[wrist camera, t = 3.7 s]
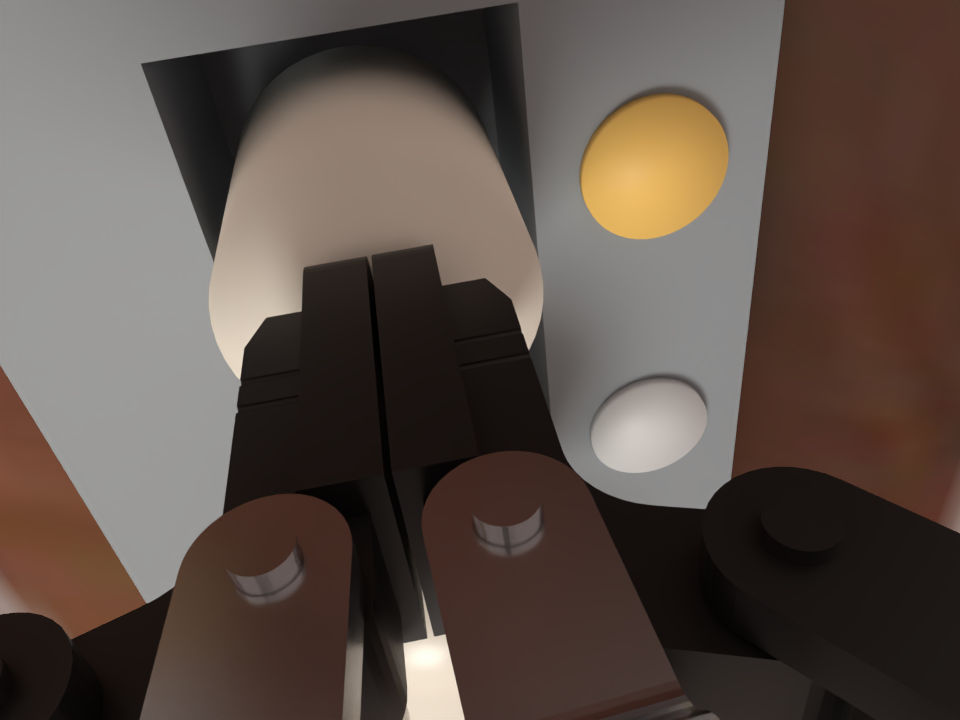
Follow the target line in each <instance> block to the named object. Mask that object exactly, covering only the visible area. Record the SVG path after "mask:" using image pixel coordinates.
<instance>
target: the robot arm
mask: <svg viewBox="0 0 960 720" xmlns="http://www.w3.org/2000/svg"><path fill="white" fill-rule="evenodd" d="M372 269H373V276H372V272H371V268H370V265H369V261H368V258H367V256H364V257H359V258H353V259H347V260H342V261H336V262H330V263H325V264H319V265H313V266H308V267H304V269H303V286H302V311H300V312H295V313H289V314H284V315H278V316H273V317H267V318H266V319H265V320H264V321H263V323H262V324H261V325H260V327H259V328H258V330H257V331H256V332H255V334H254V335H253V337H252V338H251V339H250V341H249V342H248V344H247V345H246V346H245V348H244V354H243V361H242V369H241V377H240V381H241V386H239V392H238V400H237V409H238V413H236V416H235V423H234V431H233V439H232V447H231V454H230V462H229V470H228V478H227V485H226V493H225V501H224V509H223V515H222V516H220V517H219V518H218V519H217V520H215V521H214V522H213V523H211V524H210V525H209V526H208V527H207V528H206V529H205V530H204V531H203V532H202V533H201V534H200V535H199V536H198V537H197V538H196V540H195V541H194V542H193V543H192V545H191V546H190V547H189V549H188V551H187V553H186V554H185V556H184V558H183V560H182V563H181V566H180V568H179V571H178V575H177V578H176V582H175V586H174V587H173V588H172V589H170V590H169V591H167V592H166V593H164V594H163V595H161V596H160V597H158V598H157V599H155V600H153V601H151V602H149V603H147V604H145V605H143V606H142V607H140V608H137V609H135V610H133V611H131V612H129V613H127V614H125V615H123V616H120V617H118V618H116V619H114V620H112V621H110V622H108V623H106V624H103V625H101V626H99V627H97V628H95V629H93V630H91V631H89V632H86V633H84V634H82V635H80V636H78V637H76V638H74V639H72V640H71V639H70V638H69V637H68V635H67V634H66V633H65V631H64V630H63V629H62V627H61V626H60V625H58V624H57V623H56V622H54V621H53V620H52V619H49V618H47V617H45V616H42V615H38V614H33V613H9V614H2V615H0V720H410V716H409V711H408V708H407V679H406V668H405V657H404V645H403V643H408V642H413V641H418V640H422V639H427V630H426V621H425V613H424V604H423V596H422V591H423V595H424V599H425V603H426V607H427V611H428V615H429V619H430V622H431V626H432V630H433V634H434V637H435V636H440V635H446V639H447V644H448V648H449V653H450V657H451V661H452V666H453V670H454V675H455V679H456V684H457V688H458V692H459V697H460V701H461V706H462V710H463V714H464V719H465V720H960V533H958V532H956V531H953V530H951V529H949V528H947V527H945V526H942V525H940V524H938V523H936V522H933V521H931V520H929V519H927V518H925V517H922V516H920V515H918V514H916V513H914V512H911V511H909V510H907V509H905V508H903V507H900V506H898V505H896V504H894V503H891V502H889V501H887V500H885V499H883V498H880V497H878V496H876V495H874V494H872V493H869V492H867V491H865V490H863V489H861V488H858V487H856V486H854V485H852V484H849V483H847V482H845V481H843V480H841V479H838V478H835V477H833V476H830V475H828V474H825V473H821V472H817V471H813V470H809V469H802V468H795V467H771V468H762V469H758V470H754V471H750V472H747V473H744V474H742V475H739V476H737V477H735V478H733V479H731V480H730V481H728V482H727V483H725V484H724V485H723V486H722V487H720V488H719V489H718V490H717V491H716V492H715V493H714V495H713V496H712V498H711V499H710V501H709V502H708V504H707V507H706V509H697V508H683V507H669V506H655V505H647V504H639V503H634V502H630V501H626V500H622V499H619V498H616V497H614V496H611V495H608V494H606V493H604V492H602V491H601V490H599V489H597V488H595V487H593V486H592V485H591V484H589V483H588V482H586V481H585V480H584V479H582V478H581V477H580V476H579V475H578V474H577V473H576V472H575V471H574V469H573V468H572V467H571V465H570V464H569V462H568V461H567V459H566V457H565V455H564V453H563V450H562V447H561V444H560V442H559V439H558V436H557V433H556V430H555V427H554V424H553V421H552V418H551V415H550V412H549V409H548V406H547V403H546V400H545V397H544V394H543V391H542V388H541V385H540V382H539V379H538V376H537V374H536V371H535V368H534V365H533V362H532V359H531V358H530V354H529V350H528V347H527V344H526V341H525V338H524V335H523V334H522V331H521V326H520V323H519V320H518V317H517V314H516V311H515V308H514V305H513V303H512V300H511V299H510V298H509V297H508V296H507V295H506V294H504V293H503V292H502V291H501V290H499V289H498V288H497V287H496V286H495V285H493V284H492V283H491V282H490V281H488V280H487V279H486V278H482V279H477V280H471V281H465V282H460V283H454V284H449V285H443V286H442V283H441V279H440V274H439V270H438V265H437V260H436V256H435V251H434V247H433V244H431V245H425V246H419V247H414V248H408V249H402V250H397V251H391V252H385V253H380V254H374V255H372ZM373 279H374V281H373Z"/></svg>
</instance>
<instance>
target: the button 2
mask: <svg viewBox="0 0 960 720" xmlns="http://www.w3.org/2000/svg"><path fill="white" fill-rule="evenodd" d="M431 244H433V247H434V251H435V256H436V260H437V265H438V270H439V274H440V279H441V283H442V286H443V285H449V284H454V283H460V282H465V281H471V280H477V279H482V278H486V279H487V280H488V281H490V282H491V283H492V284H493V285H495V286H496V287H497V288H498V289H499V290H501V291H502V292H503V293H504V294H506V295H507V296H508V297H509V298H510V299H511V300H512V303H513V305H514V308H515V311H516V314H517V317H518V320H519V323H520V326H521V331H522V334H523V335H524V338H525V341H526V344H527V347H528V350H529V349H530V347H531V345H532V342H533V340H534V338H535V336H536V333H537V329H538V326H539V323H540V320H541V314H542V307H543V278H542V272H541V266H540V263H539V259H538V256H537V253H536V250H535V247H534V245H533V242H532V240H531V238H530V235H529V233H528V230H527V228H526V226H525V223H524V221H523V218H522V216H521V214H520V211H519V209H518V207H517V204H516V202H515V199H514V197H513V195H512V192H511V190H510V187H509V185H508V183H507V180H506V178H505V175H504V173H503V171H502V168H501V166H500V164H499V161H498V159H497V156H496V154H495V152H494V149H493V147H492V144H491V142H490V140H489V137H488V135H487V132H486V130H485V128H484V125H483V123H482V121H481V119H480V117H479V115H478V113H477V111H476V109H475V107H474V106H473V104H472V103H471V101H470V100H469V98H468V97H467V95H466V94H465V93H464V92H463V91H462V90H461V89H460V87H459V86H458V85H457V84H456V83H455V82H454V81H453V80H452V79H450V78H449V77H448V76H447V75H446V74H444V73H443V72H442V71H441V70H439V69H437V68H436V67H434V66H433V65H431V64H430V63H428V62H426V61H424V60H422V59H420V58H418V57H416V56H413V55H411V54H408V53H405V52H402V51H399V50H395V49H391V48H385V47H379V46H363V45H356V46H345V47H338V48H334V49H329V50H325V51H322V52H319V53H316V54H314V55H311V56H309V57H306V58H304V59H302V60H300V61H299V62H297V63H295V64H293V65H291V66H290V67H288V68H287V69H286V70H285V71H283V72H282V73H281V74H279V75H278V76H277V77H276V78H275V79H274V80H273V81H272V82H271V83H270V84H269V85H268V86H267V87H266V88H265V89H264V90H263V91H262V93H261V94H260V95H259V97H258V98H257V99H256V101H255V102H254V104H253V106H252V108H251V110H250V111H249V113H248V115H247V117H246V120H245V123H244V126H243V128H242V131H241V135H240V140H239V145H238V149H237V154H236V159H235V164H234V169H233V173H232V178H231V183H230V188H229V192H228V197H227V202H226V207H225V212H224V216H223V221H222V226H221V231H220V236H219V240H218V245H217V250H216V255H215V260H214V264H213V269H212V275H211V280H210V285H209V313H210V320H211V326H212V329H213V332H214V336H215V339H216V342H217V345H218V347H219V349H220V351H221V353H222V355H223V357H224V359H225V361H226V362H227V364H228V365H229V367H230V368H231V370H232V371H233V372H234V374H235V375H236V376H237V378H238V379H239V380H240V377H241V369H242V361H243V354H244V348H245V346H246V345H247V344H248V342H249V341H250V339H251V338H252V337H253V335H254V334H255V332H256V331H257V330H258V328H259V327H260V325H261V324H262V323H263V321H264V320H265V319H266V318H267V317H273V316H278V315H284V314H289V313H295V312H300V311H302V286H303V269H304V267H308V266H313V265H319V264H325V263H330V262H336V261H342V260H347V259H353V258H359V257H364V256H367V258H368V261H369V265H370V268H371V272H372V276H373V269H372V255H374V254H380V253H385V252H391V251H397V250H402V249H408V248H414V247H419V246H425V245H431ZM373 281H374V279H373Z"/></svg>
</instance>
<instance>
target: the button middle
mask: <svg viewBox="0 0 960 720" xmlns="http://www.w3.org/2000/svg"><path fill="white" fill-rule="evenodd" d="M422 596H423V604H424V613H425V621H426V630H427V639H422V640H418V641H413V642H408V643H403V645H404V657H405V668H406V679H407V708H408V711H409V716H410V720H465V719H464V714H463V710H462V706H461V701H460V697H459V692H458V688H457V684H456V679H455V675H454V670H453V666H452V661H451V657H450V653H449V648H448V644H447V639H446V635H440V636H435V637H434V634H433V630H432V626H431V622H430V619H429V615H428V611H427V607H426V603H425V599H424V595H423V591H422Z"/></svg>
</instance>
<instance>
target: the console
mask: <svg viewBox="0 0 960 720" xmlns="http://www.w3.org/2000/svg"><path fill="white" fill-rule="evenodd" d="M784 4H785V0H0V365H1V367H2V368H3V370H4V372H5V373H6V375H7V377H8V378H9V380H10V382H11V383H12V385H13V386H14V388H15V390H16V391H17V393H18V395H19V396H20V398H21V399H22V401H23V403H24V404H25V406H26V408H27V409H28V411H29V413H30V414H31V416H32V417H33V419H34V421H35V422H36V424H37V426H38V427H39V429H40V430H41V432H42V434H43V435H44V437H45V439H46V440H47V442H48V443H49V445H50V447H51V448H52V450H53V452H54V453H55V455H56V457H57V458H58V460H59V461H60V463H61V465H62V466H63V468H64V470H65V471H66V473H67V474H68V476H69V478H70V479H71V481H72V483H73V484H74V486H75V488H76V489H77V491H78V492H79V494H80V496H81V497H82V499H83V501H84V502H85V504H86V505H87V507H88V509H89V510H90V512H91V514H92V515H93V517H94V519H95V520H96V522H97V523H98V525H99V527H100V528H101V530H102V532H103V533H104V535H105V536H106V538H107V540H108V541H109V543H110V545H111V546H112V548H113V549H114V551H115V553H116V554H117V556H118V558H119V559H120V561H121V563H122V564H123V566H124V567H125V569H126V571H127V572H128V574H129V576H130V577H131V579H132V580H133V582H134V584H135V585H136V587H137V589H138V590H139V592H140V594H141V595H142V597H143V598H144V600H145V602H146V603H149V602H151V601H153V600H155V599H157V598H158V597H160V596H161V595H163V594H164V593H166V592H167V591H169V590H170V589H172V588H173V587H174V586H175V582H176V578H177V575H178V571H179V568H180V566H181V563H182V560H183V558H184V556H185V554H186V553H187V551H188V549H189V547H190V546H191V545H192V543H193V542H194V541H195V540H196V538H197V537H198V536H199V535H200V534H201V533H202V532H203V531H204V530H205V529H206V528H207V527H208V526H209V525H210V524H211V523H213V522H214V521H215V520H217V519H218V518H219V517H220V516H222V515H223V509H224V501H225V493H226V485H227V478H228V470H229V462H230V454H231V447H232V439H233V431H234V423H235V416H236V413H238V409H237V400H238V392H239V386H241V381H240V380H239V379H238V378H237V376H236V375H235V374H234V372H233V371H232V370H231V368H230V367H229V365H228V364H227V362H226V361H225V359H224V357H223V355H222V353H221V351H220V349H219V347H218V345H217V342H216V339H215V336H214V332H213V329H212V326H211V320H210V313H209V285H210V280H211V275H212V269H213V264H214V260H215V255H216V250H217V245H218V240H219V236H220V231H221V226H222V221H223V216H224V212H225V207H226V202H227V197H228V192H229V188H230V183H231V178H232V173H233V169H234V164H235V159H236V154H237V149H238V145H239V140H240V135H241V131H242V128H243V126H244V123H245V120H246V117H247V115H248V113H249V111H250V110H251V108H252V106H253V104H254V102H255V101H256V99H257V98H258V97H259V95H260V94H261V93H262V91H263V90H264V89H265V88H266V87H267V86H268V85H269V84H270V83H271V82H272V81H273V80H274V79H275V78H276V77H277V76H278V75H279V74H281V73H282V72H283V71H285V70H286V69H287V68H288V67H290V66H291V65H293V64H295V63H297V62H299V61H300V60H302V59H304V58H306V57H309V56H311V55H314V54H316V53H319V52H322V51H325V50H329V49H334V48H338V47H345V46H356V45H363V46H379V47H385V48H391V49H395V50H399V51H402V52H405V53H408V54H411V55H413V56H416V57H418V58H420V59H422V60H424V61H426V62H428V63H430V64H431V65H433V66H434V67H436V68H437V69H439V70H441V71H442V72H443V73H444V74H446V75H447V76H448V77H449V78H450V79H452V80H453V81H454V82H455V83H456V84H457V85H458V86H459V87H460V89H461V90H462V91H463V92H464V93H465V94H466V95H467V97H468V98H469V100H470V101H471V103H472V104H473V106H474V107H475V109H476V111H477V113H478V115H479V117H480V119H481V121H482V123H483V125H484V128H485V130H486V132H487V135H488V137H489V140H490V142H491V144H492V147H493V149H494V152H495V154H496V156H497V159H498V161H499V164H500V166H501V168H502V171H503V173H504V175H505V178H506V180H507V183H508V185H509V187H510V190H511V192H512V195H513V197H514V199H515V202H516V204H517V207H518V209H519V211H520V214H521V216H522V218H523V221H524V223H525V226H526V228H527V230H528V233H529V235H530V238H531V240H532V242H533V245H534V247H535V250H536V253H537V256H538V259H539V263H540V266H541V272H542V278H543V307H542V314H541V320H540V323H539V326H538V329H537V333H536V336H535V338H534V340H533V342H532V345H531V347H530V349H529V354H530V358H531V359H532V362H533V365H534V368H535V371H536V374H537V376H538V379H539V382H540V385H541V388H542V391H543V394H544V397H545V400H546V403H547V406H548V409H549V412H550V415H551V418H552V421H553V424H554V427H555V430H556V433H557V436H558V439H559V442H560V444H561V447H562V450H563V453H564V455H565V457H566V459H567V461H568V462H569V464H570V465H571V467H572V468H573V469H574V471H575V472H576V473H577V474H578V475H579V476H580V477H581V478H582V479H584V480H585V481H586V482H588V483H589V484H591V485H592V486H593V487H595V488H597V489H599V490H601V491H602V492H604V493H606V494H608V495H611V496H614V497H616V498H619V499H622V500H626V501H630V502H634V503H639V504H647V505H655V506H669V507H683V508H697V509H706V507H707V504H708V502H709V501H710V499H711V498H712V496H713V495H714V493H715V492H716V491H717V490H718V489H719V488H720V487H722V486H723V485H724V484H725V483H727V482H728V481H730V480H731V472H732V464H733V455H734V446H735V437H736V428H737V419H738V411H739V402H740V393H741V384H742V375H743V367H744V358H745V349H746V340H747V331H748V322H749V314H750V305H751V296H752V287H753V278H754V269H755V261H756V252H757V243H758V234H759V225H760V216H761V208H762V199H763V190H764V181H765V172H766V163H767V155H768V146H769V137H770V128H771V119H772V110H773V102H774V93H775V84H776V75H777V66H778V57H779V49H780V40H781V31H782V22H783V13H784Z"/></svg>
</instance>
